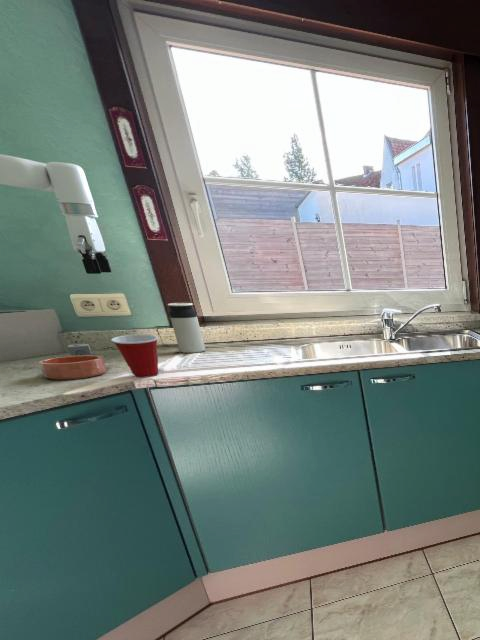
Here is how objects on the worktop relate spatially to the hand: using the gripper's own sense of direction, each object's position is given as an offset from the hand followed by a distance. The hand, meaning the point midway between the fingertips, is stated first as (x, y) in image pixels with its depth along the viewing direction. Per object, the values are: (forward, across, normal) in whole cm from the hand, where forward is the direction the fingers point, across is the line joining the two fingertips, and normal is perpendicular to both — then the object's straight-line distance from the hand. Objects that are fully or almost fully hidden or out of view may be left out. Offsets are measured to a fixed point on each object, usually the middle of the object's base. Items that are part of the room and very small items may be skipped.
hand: (99, 272), depth 150 cm
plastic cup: (+30, +10, +6) cm, 33 cm away
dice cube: (+30, -25, -18) cm, 44 cm away
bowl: (+30, +4, -12) cm, 33 cm away
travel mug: (+30, -32, +12) cm, 45 cm away
